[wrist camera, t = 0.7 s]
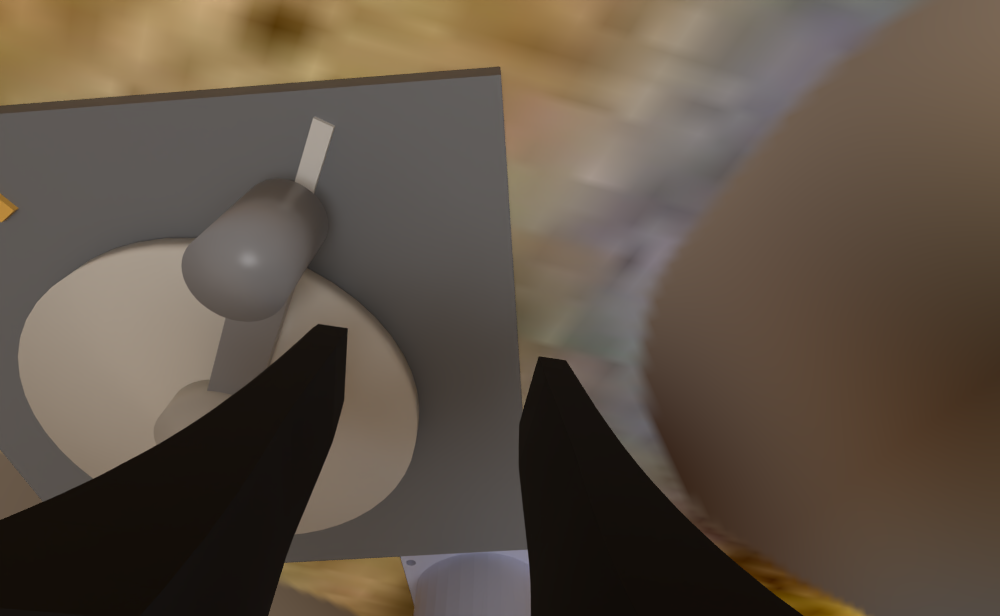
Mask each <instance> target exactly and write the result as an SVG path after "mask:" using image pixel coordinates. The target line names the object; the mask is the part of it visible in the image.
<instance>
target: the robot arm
mask: <svg viewBox="0 0 1000 616" xmlns="http://www.w3.org/2000/svg"><path fill="white" fill-rule="evenodd" d="M347 335H348V328H343V327H336V326H330V325H323V324H317V325H316V326H314V327H313V328H312V329H311V330H310V331H309V332H307V333H306V334H305V335H304V336H303V337H302V338H301V339H300V340H299V341H298V342H296V343H295V344H294V345H293V346H292V347H291V348H290V349H289V350H288V351H286V352H285V353H284V354H283V355H282V356H281V357H279V358H278V359H277V360H276V361H275V362H274V363H272V364H271V365H270V366H269V367H268V368H266V369H265V370H264V371H263V372H261V373H260V374H259V375H258V376H257V377H255V378H254V379H253V380H252V381H250V382H249V383H248V384H247V385H245V386H244V387H243V388H241V389H240V390H239V391H237V392H236V393H234V394H233V395H232V396H230V397H229V398H228V399H226V400H225V401H224V402H222V403H221V404H219V405H218V406H217V407H215V408H214V409H213V410H211V411H210V412H208V413H207V414H205V415H204V416H202V417H201V418H199V419H198V420H196V421H195V422H193V423H192V424H190V425H189V426H187V427H186V428H184V429H182V430H181V431H179V432H177V433H176V434H174V435H173V436H171V437H169V438H168V439H166V440H164V441H163V442H161V443H159V444H158V445H156V446H154V447H152V448H150V449H149V450H147V451H145V452H143V453H141V454H139V455H137V456H136V457H134V458H132V459H130V460H128V461H126V462H124V463H122V464H121V465H119V466H117V467H115V468H113V469H111V470H109V471H107V472H106V473H104V474H102V475H100V476H98V477H96V478H94V479H91V480H89V481H87V482H85V483H83V484H81V485H79V486H77V487H75V488H72V489H70V490H68V491H66V492H64V493H62V494H60V495H57V496H55V497H53V498H51V499H48V500H46V501H44V502H42V503H39V504H37V505H35V506H33V507H30V508H28V509H26V510H23V511H21V512H18V513H16V514H14V515H11V516H9V517H7V518H4V519H2V520H0V616H268V614H269V611H270V607H271V604H272V601H273V598H274V595H275V591H276V588H277V585H278V581H279V578H280V575H281V572H282V568H283V565H284V562H285V559H286V556H287V553H288V551H289V548H290V545H291V543H292V540H293V537H294V535H295V532H296V530H297V528H298V525H299V523H300V520H301V518H302V516H303V513H304V511H305V508H306V506H307V503H308V501H309V499H310V496H311V494H312V491H313V489H314V487H315V484H316V482H317V479H318V477H319V475H320V472H321V470H322V467H323V465H324V462H325V460H326V458H327V455H328V453H329V450H330V448H331V445H332V443H333V439H334V436H335V432H336V429H337V425H338V422H339V418H340V414H341V411H342V407H343V403H344V396H345V376H346V356H347ZM519 476H520V485H521V495H522V504H523V513H524V522H525V531H526V540H527V549H528V550H511V551H492V552H474V553H455V554H436V555H418V556H400V558H401V561H402V565H403V568H404V572H405V575H406V579H407V582H408V586H409V589H410V593H411V596H412V599H413V603H414V614H413V616H803V615H802V614H800V613H799V612H798V611H796V610H795V609H794V608H792V607H791V606H790V605H788V604H787V603H785V602H784V601H783V600H781V599H780V598H779V597H777V596H776V595H775V594H773V593H772V592H771V591H769V590H768V589H767V588H766V587H765V586H763V585H762V584H761V583H760V582H758V581H757V580H756V579H755V578H754V577H752V576H751V575H750V574H749V573H747V572H746V571H745V570H744V569H743V568H741V567H740V566H739V565H738V564H736V563H735V562H734V561H733V560H732V559H731V558H730V557H728V556H727V555H726V554H725V553H724V552H723V551H722V550H720V549H719V548H718V547H717V546H716V545H715V544H714V543H713V542H712V541H711V540H709V539H708V538H707V537H706V536H705V535H704V534H703V533H702V532H701V531H700V530H699V529H698V528H697V527H696V526H695V525H694V524H692V523H691V522H690V521H689V520H688V519H687V518H686V517H685V516H684V515H683V514H682V513H681V512H680V511H679V510H678V509H677V508H676V507H675V506H674V505H673V504H672V502H671V501H670V500H669V499H668V498H667V497H666V496H665V495H664V494H663V493H662V492H661V490H660V489H659V488H658V487H657V486H656V485H655V484H654V483H653V482H652V481H651V480H650V478H649V477H648V476H647V475H646V474H645V473H644V471H643V470H642V469H641V468H640V467H639V465H638V464H637V463H636V462H635V460H634V459H633V458H632V457H631V455H630V454H629V453H628V452H627V450H626V449H625V448H624V446H623V445H622V444H621V442H620V441H619V440H618V438H617V437H616V436H615V434H614V433H613V431H612V430H611V429H610V427H609V426H608V424H607V423H606V421H605V420H604V419H603V417H602V416H601V414H600V413H599V411H598V410H597V408H596V407H595V405H594V404H593V402H592V401H591V399H590V398H589V396H588V394H587V393H586V391H585V390H584V388H583V387H582V385H581V383H580V382H579V380H578V379H577V377H576V375H575V374H574V372H573V371H572V369H571V368H570V366H569V364H568V363H567V361H566V360H559V359H553V358H546V357H539V358H538V361H537V364H536V368H535V371H534V375H533V378H532V381H531V385H530V388H529V392H528V395H527V399H526V402H525V405H524V409H523V412H522V416H521V419H520V423H519Z"/></svg>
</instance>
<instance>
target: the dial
mask: <svg viewBox="0 0 1000 616" xmlns="http://www.w3.org/2000/svg"><path fill="white" fill-rule="evenodd" d="M327 232H328V218H327V214H326V211H325V209H324V207H323V205H322V203H321V202H320V200H319V199H318V198H317V197H316V196H315V195H314V194H313V193H312V192H311V191H310V190H309V189H307V188H306V187H304V186H303V185H301V184H299V183H297V182H294V181H291V180H287V179H268V180H265V181H262V182H260V183H258V184H257V185H255V186H254V187H253V188H252V189H250V190H249V191H248V192H247V193H246V194H245V195H244V196H243V197H242V198H240V199H239V200H238V201H237V202H236V203H235V204H234V205H233V206H231V207H230V208H229V209H228V210H227V211H226V212H225V213H224V214H223V215H221V216H220V217H219V218H218V219H217V220H216V221H215V222H214V223H212V224H211V225H210V226H209V227H208V228H207V229H206V230H205V231H204V232H202V233H201V234H200V235H199V236H198V237H197V238H165V239H157V240H150V241H143V242H137V243H133V244H130V245H126V246H122V247H119V248H115V249H112V250H110V251H108V252H106V253H104V254H101V255H99V256H97V257H95V258H93V259H91V260H89V261H88V262H86V263H85V264H84V265H82V266H81V267H79V268H78V269H76V270H75V271H73V272H72V273H71V274H69V275H68V276H66V277H65V278H64V279H62V280H61V281H59V282H58V283H57V284H55V285H54V286H52V287H51V288H50V289H49V290H48V291H47V292H46V293H45V294H44V295H43V296H42V298H41V299H40V300H39V301H38V302H37V303H36V305H35V306H34V308H33V309H32V311H31V313H30V314H29V316H28V317H27V319H26V322H25V325H24V328H23V330H22V333H21V336H20V342H19V351H18V363H19V374H20V379H21V383H22V386H23V390H24V393H25V396H26V398H27V401H28V403H29V405H30V407H31V409H32V411H33V413H34V415H35V417H36V418H37V420H38V421H39V423H40V424H41V426H42V428H43V429H44V431H45V432H46V433H47V435H48V436H49V437H50V438H51V439H52V441H53V442H54V443H55V444H56V445H57V447H58V448H59V449H60V450H61V451H62V452H63V453H64V454H65V455H66V456H67V457H68V458H69V459H70V460H71V461H72V462H73V463H74V464H75V465H77V466H78V467H79V468H80V469H82V470H83V471H84V472H85V473H87V474H88V475H89V476H90V477H92V478H93V479H94V478H96V477H98V476H100V475H102V474H104V473H106V472H107V471H109V470H111V469H113V468H115V467H117V466H119V465H121V464H122V463H124V462H126V461H128V460H130V459H132V458H134V457H136V456H137V455H139V454H141V453H143V452H145V451H147V450H149V449H150V448H152V447H154V446H156V445H158V444H159V443H161V442H163V441H164V440H166V439H168V438H169V437H171V436H173V435H174V434H176V433H177V432H179V431H181V430H182V429H184V428H186V427H187V426H189V425H190V424H192V423H193V422H195V421H196V420H198V419H199V418H201V417H202V416H204V415H205V414H207V413H208V412H210V411H211V410H213V409H214V408H215V407H217V406H218V405H219V404H221V403H222V402H224V401H225V400H226V399H228V398H229V397H230V396H232V395H233V394H234V393H236V392H237V391H239V390H240V389H241V388H243V387H244V386H245V385H247V384H248V383H249V382H250V381H252V380H253V379H254V378H255V377H257V376H258V375H259V374H260V373H261V372H263V371H264V370H265V369H266V368H268V367H269V366H270V365H271V364H272V363H274V362H275V361H276V360H277V359H278V358H279V357H281V356H282V355H283V354H284V353H285V352H286V351H288V350H289V349H290V348H291V347H292V346H293V345H294V344H295V343H296V342H298V341H299V340H300V339H301V338H302V337H303V336H304V335H305V334H306V333H307V332H309V331H310V330H311V329H312V328H313V327H314V326H316V325H317V324H323V325H330V326H336V327H343V328H348V335H347V356H346V376H345V396H344V403H343V407H342V411H341V414H340V418H339V422H338V425H337V429H336V432H335V436H334V439H333V443H332V445H331V448H330V450H329V453H328V455H327V458H326V460H325V462H324V465H323V467H322V470H321V472H320V475H319V477H318V479H317V482H316V484H315V487H314V489H313V491H312V494H311V496H310V499H309V501H308V503H307V506H306V508H305V511H304V513H303V516H302V518H301V520H300V523H299V525H298V528H297V530H296V532H295V534H303V533H309V532H314V531H319V530H323V529H327V528H330V527H334V526H337V525H340V524H342V523H345V522H347V521H350V520H352V519H355V518H357V517H358V516H360V515H362V514H364V513H365V512H367V511H369V510H371V509H372V508H373V507H375V506H376V505H377V504H379V503H380V502H381V501H383V500H384V499H385V498H386V497H387V496H388V495H389V494H390V493H391V492H392V491H393V490H394V489H395V488H396V486H397V485H398V483H399V482H400V481H401V479H402V478H403V476H404V475H405V473H406V471H407V468H408V466H409V464H410V462H411V459H412V455H413V451H414V447H415V443H416V437H417V431H418V423H419V402H418V393H417V389H416V385H415V382H414V378H413V375H412V372H411V370H410V368H409V366H408V363H407V361H406V359H405V357H404V355H403V353H402V352H401V350H400V349H399V347H398V345H397V344H396V342H395V341H394V339H393V338H392V336H391V335H390V334H389V333H388V331H387V330H386V329H385V328H384V327H383V326H382V324H381V323H380V322H379V321H378V320H377V319H376V317H375V316H373V315H372V314H371V313H370V312H369V311H368V310H367V309H366V308H365V307H364V306H363V305H361V304H360V303H359V302H358V301H357V300H356V299H355V298H353V297H352V296H350V295H349V294H348V293H346V292H345V291H344V290H342V289H341V288H340V287H338V286H337V285H335V284H334V283H332V282H331V281H329V280H327V279H325V278H324V277H322V276H320V275H318V274H317V273H315V272H313V271H312V270H310V269H308V268H307V267H308V265H309V264H310V262H311V261H312V259H313V257H314V256H315V254H316V253H317V251H318V250H319V248H320V246H321V245H322V243H323V242H324V240H325V238H326V236H327Z"/></svg>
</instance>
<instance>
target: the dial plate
mask: <svg viewBox="0 0 1000 616" xmlns="http://www.w3.org/2000/svg"><path fill="white" fill-rule="evenodd" d="M268 179H287V180H291V181H294V182H297V183H299V184H301V185H303V186H304V187H306V188H307V189H309V190H310V191H311V192H312V193H313V194H314V195H315V196H316V197H317V198H318V199H319V200H320V202H321V203H322V205H323V207H324V209H325V211H326V214H327V218H328V232H327V236H326V238H325V240H324V242H323V243H322V245H321V246H320V248H319V250H318V251H317V253H316V254H315V256H314V257H313V259H312V261H311V262H310V264H309V265H308V267H307V268H308V269H310V270H312V271H313V272H315V273H317V274H318V275H320V276H322V277H324V278H325V279H327V280H329V281H331V282H332V283H334V284H335V285H337V286H338V287H340V288H341V289H342V290H344V291H345V292H346V293H348V294H349V295H350V296H352V297H353V298H355V299H356V300H357V301H358V302H359V303H360V304H361V305H363V306H364V307H365V308H366V309H367V310H368V311H369V312H370V313H371V314H372V315H373V316H375V317H376V319H377V320H378V321H379V322H380V323H381V324H382V326H383V327H384V328H385V329H386V330H387V331H388V333H389V334H390V335H391V336H392V338H393V339H394V341H395V342H396V344H397V345H398V347H399V349H400V350H401V352H402V353H403V355H404V357H405V359H406V361H407V363H408V366H409V368H410V370H411V372H412V375H413V378H414V382H415V385H416V389H417V393H418V402H419V423H418V431H417V437H416V443H415V447H414V451H413V455H412V459H411V462H410V464H409V466H408V468H407V471H406V473H405V475H404V476H403V478H402V479H401V481H400V482H399V483H398V485H397V486H396V488H395V489H394V490H393V491H392V492H391V493H390V494H389V495H388V496H387V497H386V498H385V499H384V500H383V501H381V502H380V503H379V504H377V505H376V506H375V507H373V508H372V509H371V510H369V511H367V512H365V513H364V514H362V515H360V516H358V517H357V518H355V519H352V520H350V521H347V522H345V523H342V524H340V525H337V526H334V527H330V528H327V529H323V530H319V531H314V532H309V533H303V534H295V535H294V537H293V540H292V543H291V545H290V548H289V551H288V553H287V556H286V559H285V562H284V563H287V562H306V561H325V560H343V559H362V558H380V557H399V556H418V555H436V554H455V553H474V552H492V551H511V550H528V549H527V540H526V531H525V522H524V513H523V504H522V495H521V485H520V476H519V423H520V419H521V416H522V396H521V381H520V365H519V349H518V334H517V318H516V303H515V287H514V271H513V256H512V240H511V225H510V209H509V194H508V178H507V162H506V147H505V131H504V116H503V100H502V85H501V70H500V67H490V68H478V69H465V70H452V71H439V72H427V73H414V74H401V75H388V76H376V77H363V78H350V79H337V80H325V81H312V82H299V83H286V84H273V85H261V86H248V87H235V88H222V89H210V90H197V91H184V92H171V93H159V94H146V95H133V96H120V97H108V98H95V99H82V100H69V101H57V102H44V103H31V104H18V105H6V106H0V450H1V451H2V452H3V454H4V455H5V456H6V457H7V459H8V460H9V461H10V462H11V463H12V465H13V466H14V467H15V468H16V469H17V471H18V472H19V473H20V474H21V476H22V477H23V478H24V479H25V480H26V482H27V483H28V484H29V485H30V487H31V488H32V489H33V490H34V491H35V493H36V494H37V495H38V496H39V497H40V499H41V500H42V501H43V502H44V501H46V500H48V499H51V498H53V497H55V496H57V495H60V494H62V493H64V492H66V491H68V490H70V489H72V488H75V487H77V486H79V485H81V484H83V483H85V482H87V481H89V480H91V479H93V478H92V477H90V476H89V475H88V474H87V473H85V472H84V471H83V470H82V469H80V468H79V467H78V466H77V465H75V464H74V463H73V462H72V461H71V460H70V459H69V458H68V457H67V456H66V455H65V454H64V453H63V452H62V451H61V450H60V449H59V448H58V447H57V445H56V444H55V443H54V442H53V441H52V439H51V438H50V437H49V436H48V435H47V433H46V432H45V431H44V429H43V428H42V426H41V424H40V423H39V421H38V420H37V418H36V417H35V415H34V413H33V411H32V409H31V407H30V405H29V403H28V401H27V398H26V396H25V393H24V390H23V386H22V383H21V379H20V374H19V363H18V351H19V342H20V336H21V333H22V330H23V328H24V325H25V322H26V319H27V317H28V316H29V314H30V313H31V311H32V309H33V308H34V306H35V305H36V303H37V302H38V301H39V300H40V299H41V298H42V296H43V295H44V294H45V293H46V292H47V291H48V290H49V289H50V288H51V287H52V286H54V285H55V284H57V283H58V282H59V281H61V280H62V279H64V278H65V277H66V276H68V275H69V274H71V273H72V272H73V271H75V270H76V269H78V268H79V267H81V266H82V265H84V264H85V263H86V262H88V261H89V260H91V259H93V258H95V257H97V256H99V255H101V254H104V253H106V252H108V251H110V250H112V249H115V248H119V247H122V246H126V245H130V244H133V243H137V242H143V241H150V240H157V239H165V238H197V237H198V236H199V235H200V234H201V233H202V232H204V231H205V230H206V229H207V228H208V227H209V226H210V225H211V224H212V223H214V222H215V221H216V220H217V219H218V218H219V217H220V216H221V215H223V214H224V213H225V212H226V211H227V210H228V209H229V208H230V207H231V206H233V205H234V204H235V203H236V202H237V201H238V200H239V199H240V198H242V197H243V196H244V195H245V194H246V193H247V192H248V191H249V190H250V189H252V188H253V187H254V186H255V185H257V184H258V183H260V182H262V181H265V180H268Z"/></svg>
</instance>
